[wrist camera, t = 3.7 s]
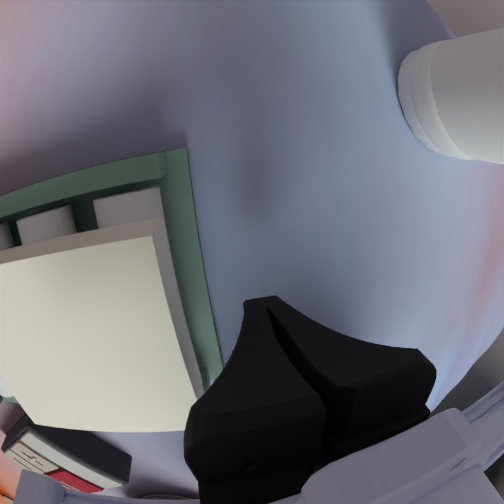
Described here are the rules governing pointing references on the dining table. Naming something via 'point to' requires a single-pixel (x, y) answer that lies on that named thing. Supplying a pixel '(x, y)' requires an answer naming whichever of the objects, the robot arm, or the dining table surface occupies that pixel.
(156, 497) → the coffee pot
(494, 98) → the bottle
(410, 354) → the robot arm
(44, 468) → the calculator
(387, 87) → the dining table surface
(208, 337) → the roller frame
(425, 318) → the dining table surface
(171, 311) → the board
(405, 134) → the dining table surface
